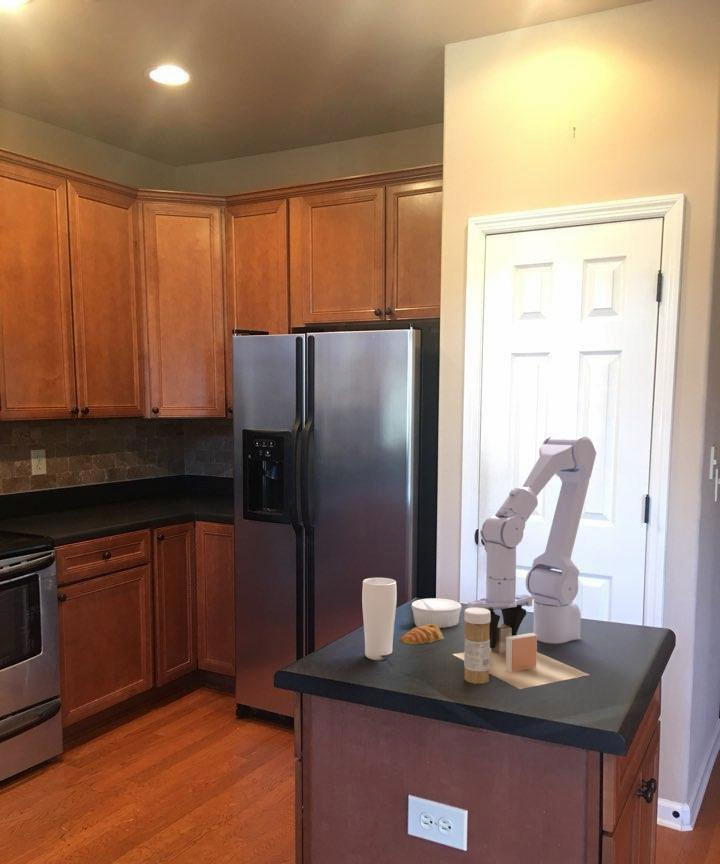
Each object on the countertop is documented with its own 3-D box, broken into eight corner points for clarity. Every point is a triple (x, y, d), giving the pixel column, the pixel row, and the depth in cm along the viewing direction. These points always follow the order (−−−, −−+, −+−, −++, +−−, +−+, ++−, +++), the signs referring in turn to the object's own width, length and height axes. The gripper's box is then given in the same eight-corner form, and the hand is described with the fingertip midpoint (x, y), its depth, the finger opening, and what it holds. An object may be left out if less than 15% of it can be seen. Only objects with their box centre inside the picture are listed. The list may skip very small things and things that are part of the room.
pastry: (414, 654, 142) (414, 635, 142) (391, 646, 148) (391, 627, 147) (446, 645, 148) (446, 626, 148) (423, 637, 154) (423, 620, 154)
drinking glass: (402, 656, 140) (403, 581, 140) (380, 665, 135) (381, 586, 135) (377, 649, 144) (378, 575, 144) (354, 656, 139) (355, 580, 139)
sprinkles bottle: (477, 679, 128) (478, 605, 128) (495, 687, 124) (496, 611, 124) (458, 684, 125) (459, 608, 125) (475, 692, 121) (476, 614, 121)
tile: (531, 664, 132) (531, 632, 132) (537, 667, 131) (537, 635, 131) (505, 669, 130) (506, 636, 130) (511, 672, 128) (511, 639, 128)
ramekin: (401, 626, 162) (401, 603, 161) (433, 617, 169) (434, 595, 169) (438, 637, 153) (438, 613, 153) (471, 627, 161) (471, 604, 161)
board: (517, 649, 145) (517, 643, 145) (589, 681, 127) (589, 674, 127) (452, 660, 138) (452, 654, 138) (519, 696, 120) (519, 689, 120)
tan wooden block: (501, 647, 142) (501, 622, 142) (511, 652, 140) (511, 627, 140) (490, 649, 141) (491, 624, 141) (500, 654, 138) (501, 628, 138)
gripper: (483, 584, 134) (482, 656, 134) (543, 577, 140) (542, 646, 140) (461, 577, 140) (461, 645, 140) (519, 571, 147) (518, 636, 147)
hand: (500, 645), depth 141 cm, fingers open, 4 cm apart
